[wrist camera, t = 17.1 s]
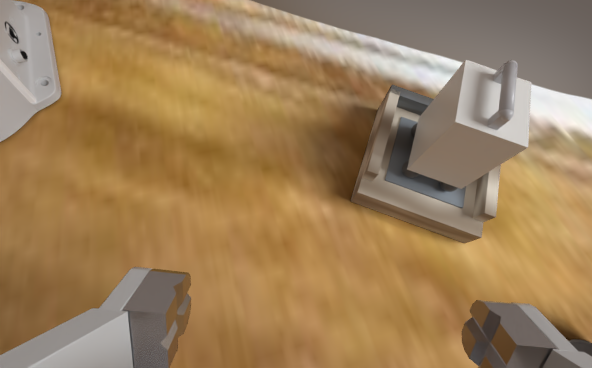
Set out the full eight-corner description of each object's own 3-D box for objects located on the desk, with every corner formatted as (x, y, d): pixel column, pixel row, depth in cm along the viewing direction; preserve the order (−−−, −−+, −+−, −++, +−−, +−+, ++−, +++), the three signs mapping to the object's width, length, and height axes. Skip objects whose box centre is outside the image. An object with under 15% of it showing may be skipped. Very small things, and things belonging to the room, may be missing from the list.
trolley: (452, 196, 35) (551, 136, 23) (397, 177, 35) (467, 106, 23) (460, 144, 38) (552, 65, 26) (409, 126, 38) (478, 40, 26)
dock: (464, 243, 37) (494, 233, 32) (350, 201, 37) (363, 185, 33) (477, 145, 42) (504, 124, 38) (377, 109, 43) (392, 84, 38)
